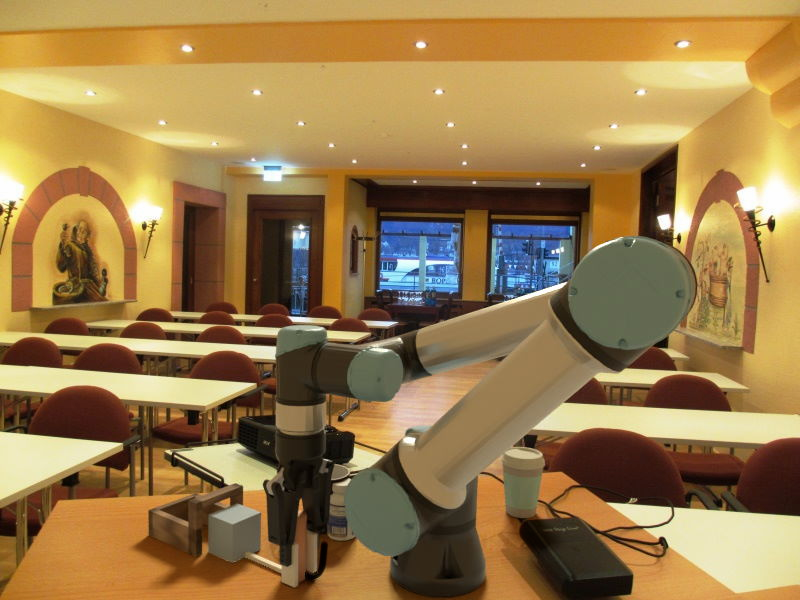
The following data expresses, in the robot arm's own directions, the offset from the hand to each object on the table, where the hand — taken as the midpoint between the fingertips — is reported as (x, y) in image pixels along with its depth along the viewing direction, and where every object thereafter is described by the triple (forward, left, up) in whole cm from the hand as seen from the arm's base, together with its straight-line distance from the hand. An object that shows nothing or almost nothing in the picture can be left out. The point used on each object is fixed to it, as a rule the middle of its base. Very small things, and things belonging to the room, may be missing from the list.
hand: (299, 577), depth 97 cm
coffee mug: (+10, -18, 0) cm, 20 cm away
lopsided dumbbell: (+9, 0, 0) cm, 9 cm away
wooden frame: (+25, 0, 0) cm, 25 cm away
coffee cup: (-17, -45, 0) cm, 48 cm away
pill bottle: (+5, -16, -1) cm, 16 cm away
